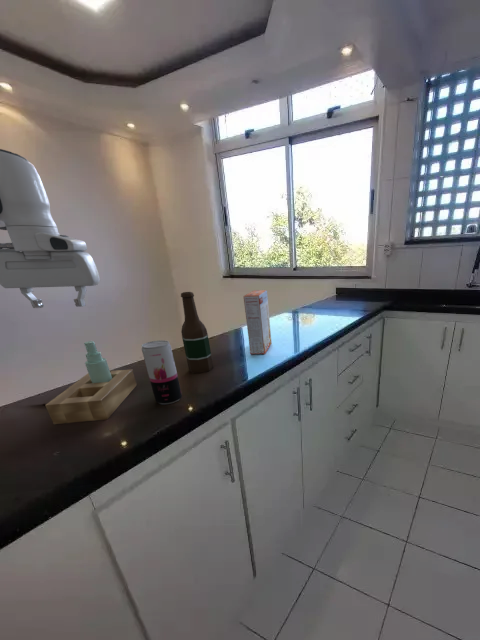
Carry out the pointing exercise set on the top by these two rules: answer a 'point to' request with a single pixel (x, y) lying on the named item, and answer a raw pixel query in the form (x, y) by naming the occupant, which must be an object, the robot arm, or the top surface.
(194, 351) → the beer bottle
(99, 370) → the bottle
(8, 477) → the top surface
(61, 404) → the bottle stand
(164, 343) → the beverage can
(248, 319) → the cracker box
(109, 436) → the top surface
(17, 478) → the top surface
